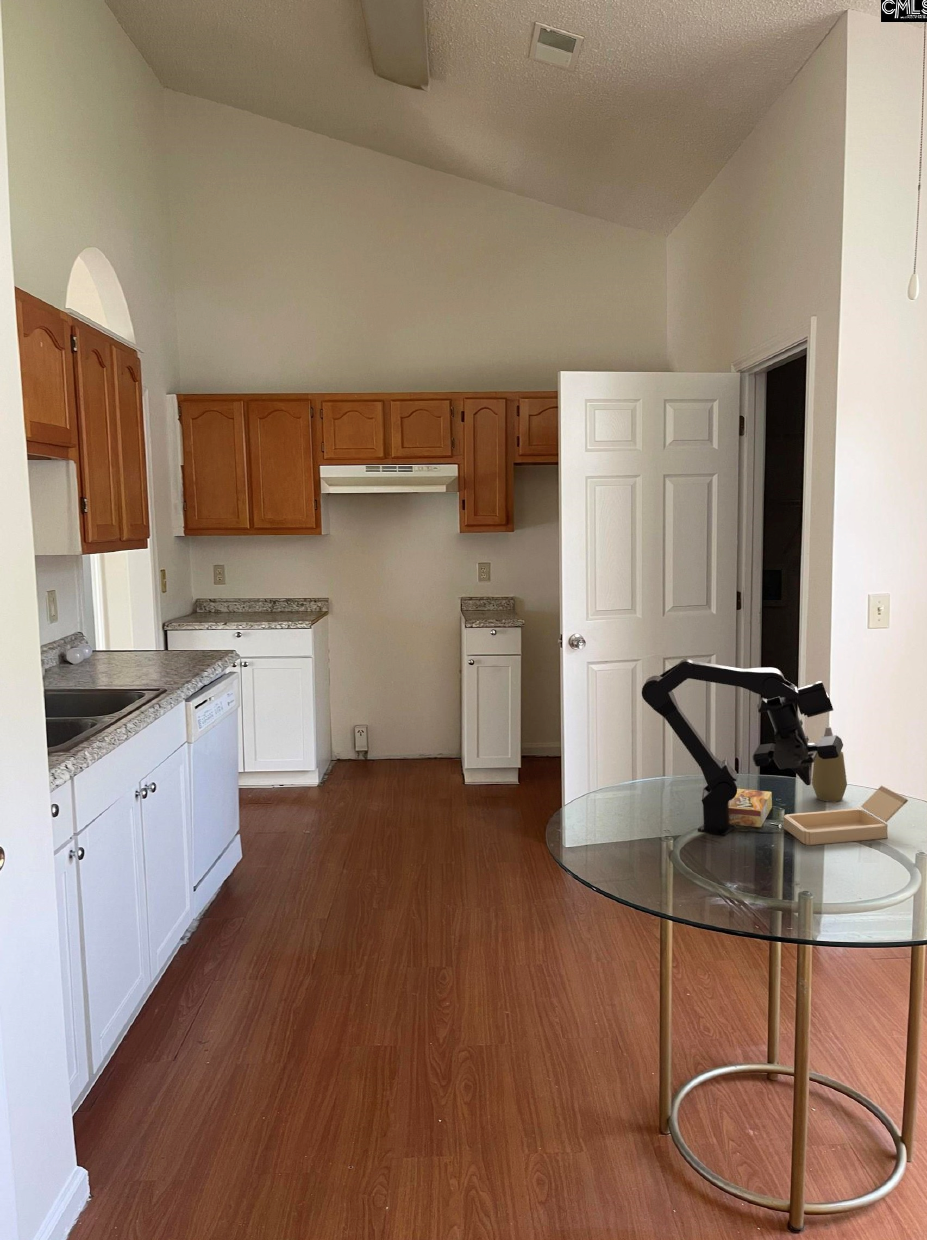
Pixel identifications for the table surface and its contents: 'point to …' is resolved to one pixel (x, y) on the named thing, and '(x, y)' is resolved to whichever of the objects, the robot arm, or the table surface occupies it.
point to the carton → (834, 826)
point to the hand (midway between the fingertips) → (808, 784)
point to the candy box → (750, 807)
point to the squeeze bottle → (829, 776)
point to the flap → (884, 803)
